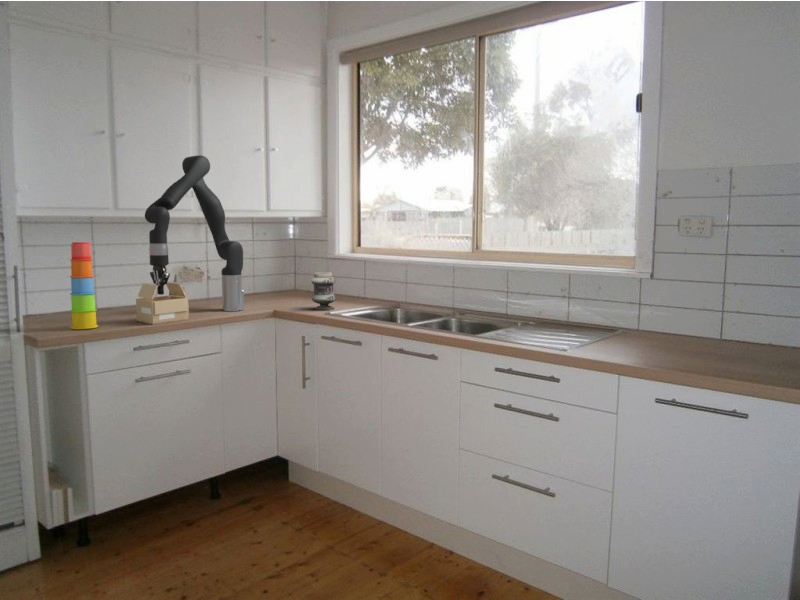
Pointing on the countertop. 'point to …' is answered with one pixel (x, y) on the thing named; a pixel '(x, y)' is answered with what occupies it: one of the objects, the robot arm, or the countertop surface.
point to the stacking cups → (82, 287)
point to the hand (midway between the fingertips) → (160, 294)
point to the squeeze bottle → (176, 280)
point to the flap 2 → (175, 288)
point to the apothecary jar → (323, 290)
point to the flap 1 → (147, 291)
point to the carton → (162, 309)
